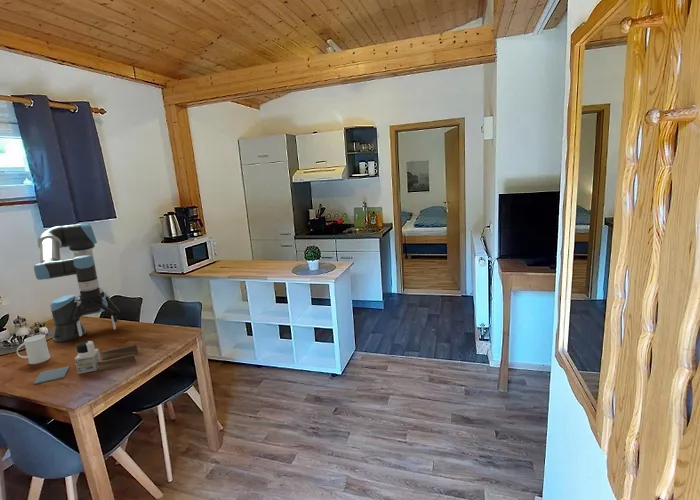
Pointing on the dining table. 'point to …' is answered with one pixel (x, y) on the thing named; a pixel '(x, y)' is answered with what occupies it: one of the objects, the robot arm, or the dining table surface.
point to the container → (87, 357)
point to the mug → (35, 349)
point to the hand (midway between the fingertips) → (98, 331)
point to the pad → (51, 375)
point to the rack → (120, 360)
